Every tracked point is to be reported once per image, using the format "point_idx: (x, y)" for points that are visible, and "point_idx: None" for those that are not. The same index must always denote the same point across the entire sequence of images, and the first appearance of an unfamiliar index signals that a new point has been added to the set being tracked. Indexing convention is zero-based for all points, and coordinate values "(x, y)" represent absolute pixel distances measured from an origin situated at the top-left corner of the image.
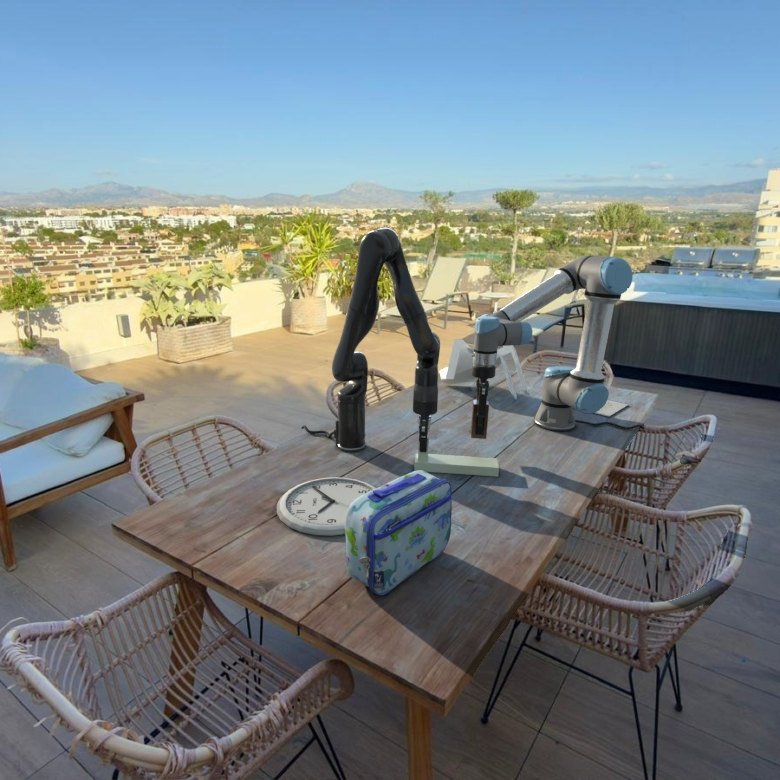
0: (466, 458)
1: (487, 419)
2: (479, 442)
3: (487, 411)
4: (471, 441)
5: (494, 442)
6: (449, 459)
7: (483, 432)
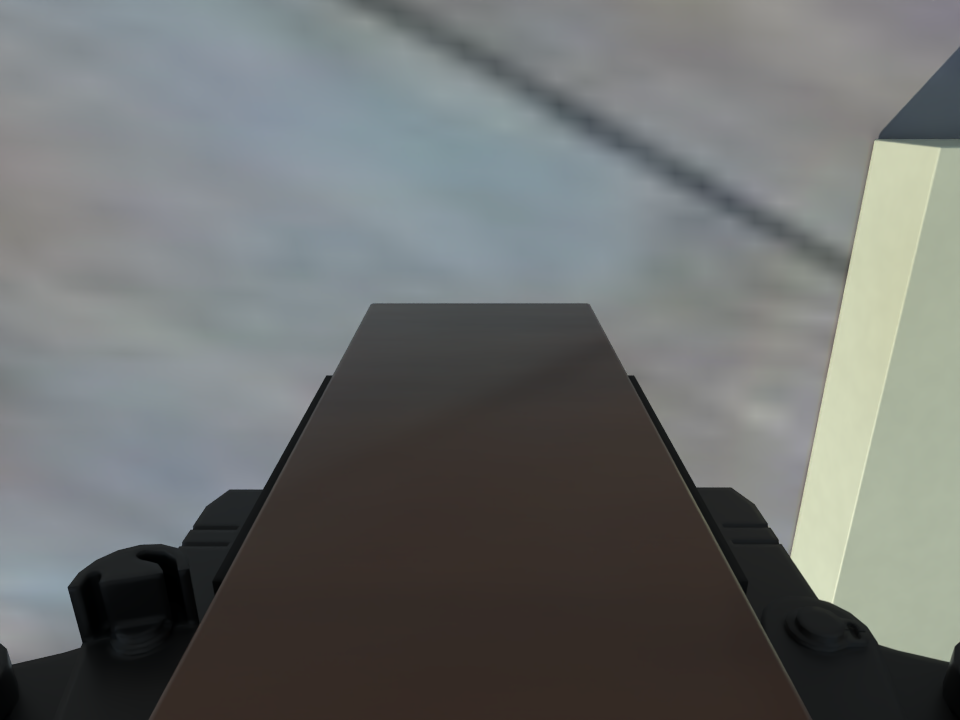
0: (915, 487)
1: (668, 459)
2: (223, 292)
3: (743, 626)
4: (221, 375)
5: (167, 111)
6: (924, 626)
7: (643, 394)
